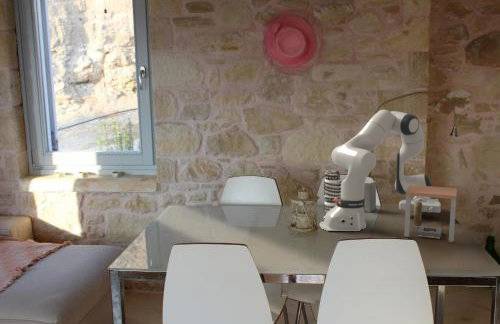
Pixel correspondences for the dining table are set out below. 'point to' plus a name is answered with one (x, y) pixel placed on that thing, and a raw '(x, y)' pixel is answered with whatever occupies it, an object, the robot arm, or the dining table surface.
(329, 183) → the decorative candle
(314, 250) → the dining table surface
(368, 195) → the skincare box
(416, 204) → the peg
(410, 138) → the robot arm
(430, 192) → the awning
